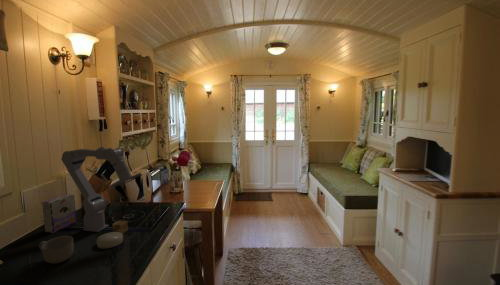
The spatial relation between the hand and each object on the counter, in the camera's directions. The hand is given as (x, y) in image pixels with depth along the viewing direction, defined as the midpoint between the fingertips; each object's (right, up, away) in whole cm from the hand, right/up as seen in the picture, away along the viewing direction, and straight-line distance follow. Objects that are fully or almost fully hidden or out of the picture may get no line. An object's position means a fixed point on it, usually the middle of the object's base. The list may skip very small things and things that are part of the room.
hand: (134, 195), depth 133 cm
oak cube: (-9, -20, +4) cm, 22 cm away
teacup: (-23, -23, -21) cm, 39 cm away
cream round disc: (-8, -21, -7) cm, 24 cm away
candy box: (-44, -19, +10) cm, 49 cm away
